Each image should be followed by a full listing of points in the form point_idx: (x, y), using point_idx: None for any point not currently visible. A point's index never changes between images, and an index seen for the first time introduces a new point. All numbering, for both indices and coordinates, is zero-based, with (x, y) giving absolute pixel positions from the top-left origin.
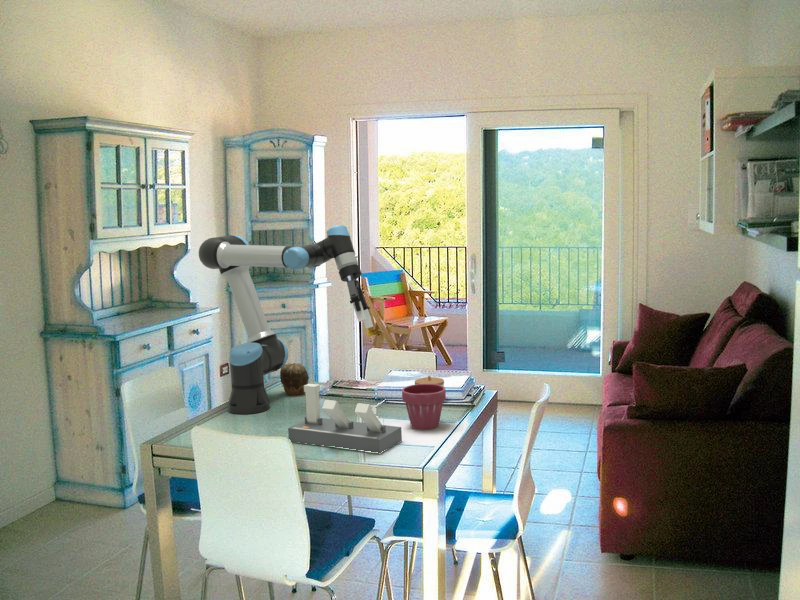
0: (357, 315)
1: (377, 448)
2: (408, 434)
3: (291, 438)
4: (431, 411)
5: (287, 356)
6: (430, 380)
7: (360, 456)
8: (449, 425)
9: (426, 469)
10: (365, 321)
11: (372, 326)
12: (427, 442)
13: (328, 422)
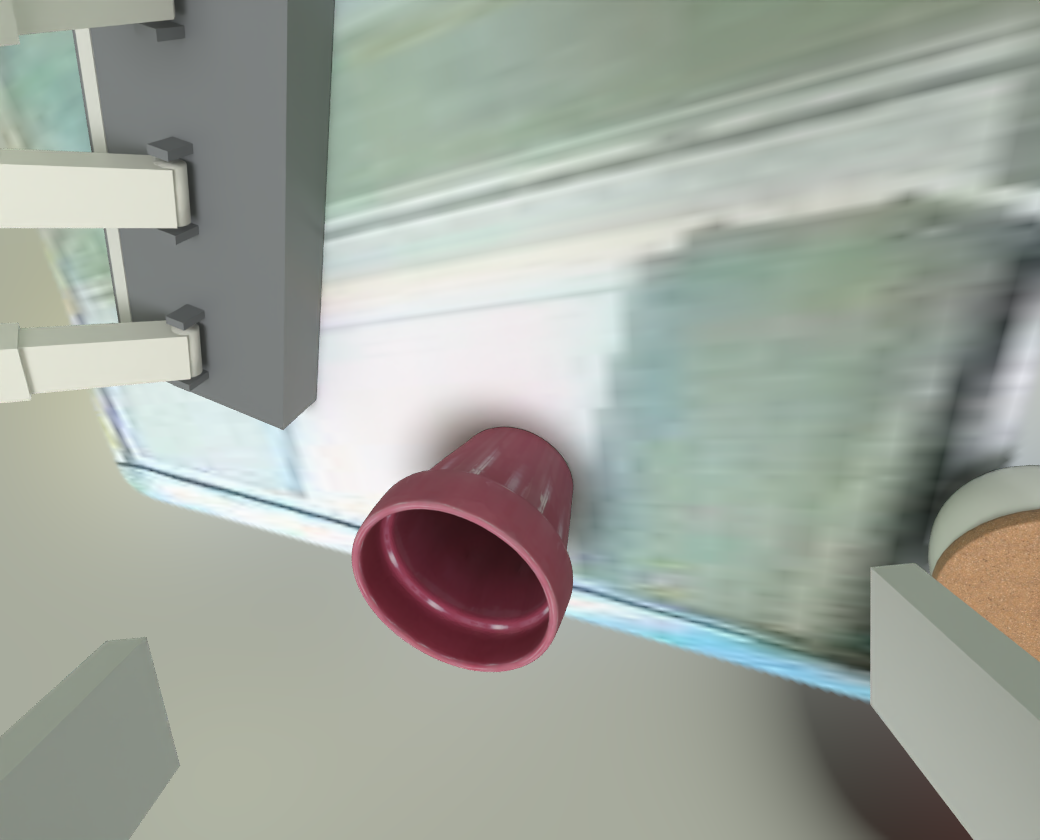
0: (31, 733)
1: None
2: (397, 418)
3: None
4: (427, 550)
5: None
6: (1038, 609)
7: None
8: None
9: (126, 472)
10: (955, 685)
11: (883, 690)
12: (330, 479)
13: (224, 65)
